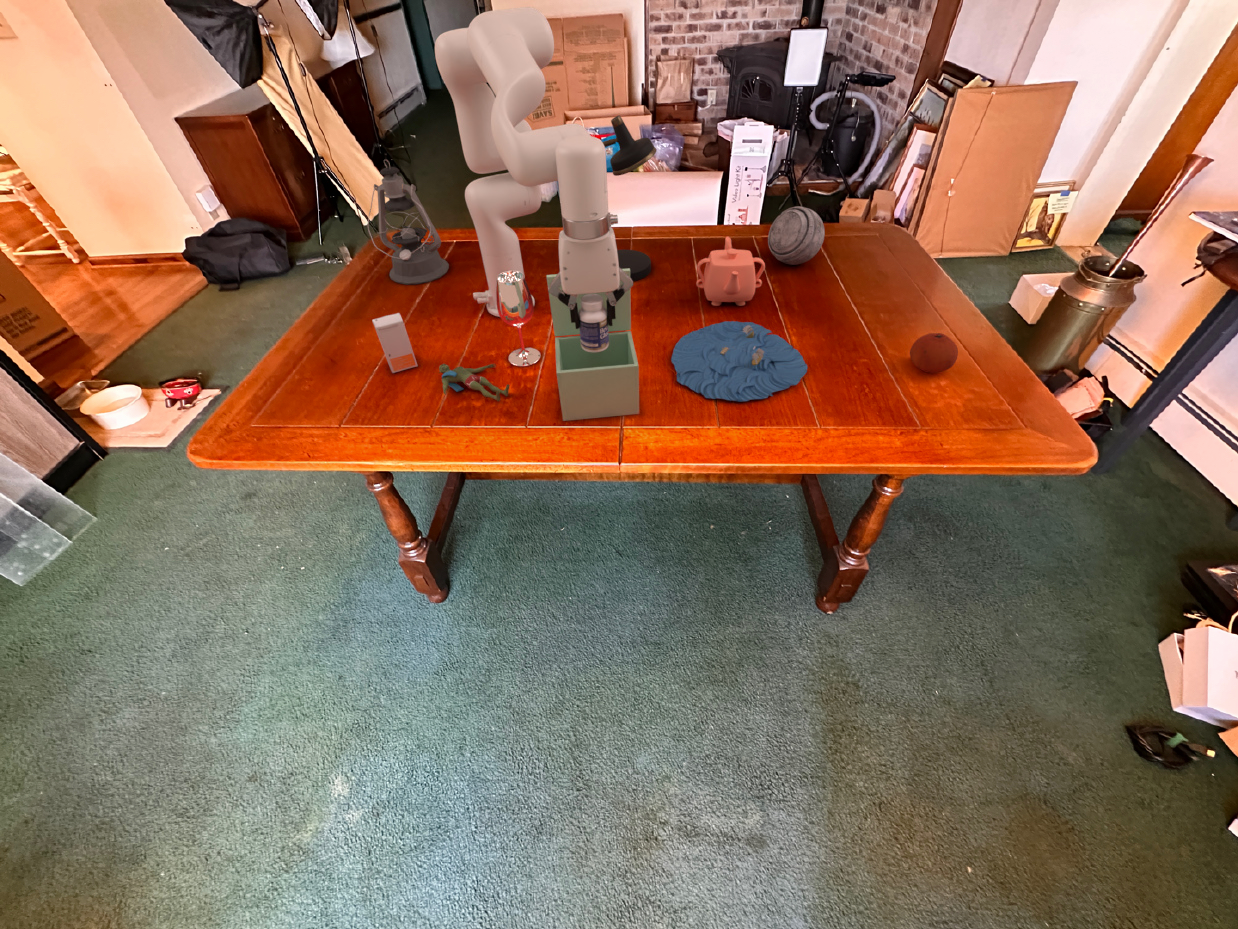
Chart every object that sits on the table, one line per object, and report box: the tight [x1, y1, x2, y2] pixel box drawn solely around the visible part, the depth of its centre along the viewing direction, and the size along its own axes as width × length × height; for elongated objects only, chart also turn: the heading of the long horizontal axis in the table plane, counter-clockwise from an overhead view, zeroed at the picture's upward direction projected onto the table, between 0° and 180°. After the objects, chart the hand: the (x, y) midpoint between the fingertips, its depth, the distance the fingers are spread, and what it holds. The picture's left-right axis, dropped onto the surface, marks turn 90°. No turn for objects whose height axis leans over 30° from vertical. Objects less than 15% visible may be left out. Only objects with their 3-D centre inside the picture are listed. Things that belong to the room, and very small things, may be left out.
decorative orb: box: [767, 205, 826, 266], centre depth 154 cm, size 15×14×15 cm
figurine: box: [438, 363, 510, 402], centre depth 121 cm, size 16×4×18 cm
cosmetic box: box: [371, 312, 419, 374], centre depth 125 cm, size 6×4×12 cm
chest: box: [554, 330, 640, 422], centre depth 114 cm, size 13×16×12 cm
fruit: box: [909, 332, 959, 374], centre depth 119 cm, size 9×9×8 cm
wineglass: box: [496, 271, 542, 367], centre depth 123 cm, size 8×8×20 cm
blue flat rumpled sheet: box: [670, 320, 809, 403], centre depth 123 cm, size 30×30×5 cm
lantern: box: [367, 159, 450, 286], centre depth 152 cm, size 18×20×30 cm
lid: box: [546, 268, 632, 337], centre depth 110 cm, size 13×16×5 cm
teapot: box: [695, 236, 766, 307], centre depth 142 cm, size 15×17×13 cm
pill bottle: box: [578, 294, 610, 352], centre depth 103 cm, size 5×5×10 cm
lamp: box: [602, 114, 657, 282], centre depth 147 cm, size 16×22×38 cm
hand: (593, 322), depth 103 cm, fingers closed on pill bottle, 5 cm apart
